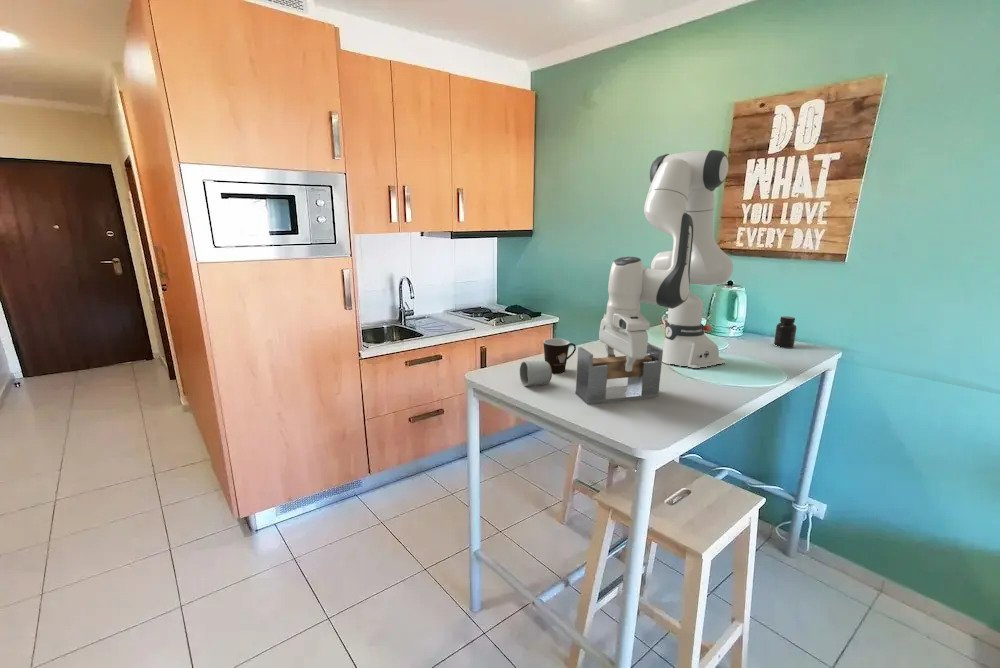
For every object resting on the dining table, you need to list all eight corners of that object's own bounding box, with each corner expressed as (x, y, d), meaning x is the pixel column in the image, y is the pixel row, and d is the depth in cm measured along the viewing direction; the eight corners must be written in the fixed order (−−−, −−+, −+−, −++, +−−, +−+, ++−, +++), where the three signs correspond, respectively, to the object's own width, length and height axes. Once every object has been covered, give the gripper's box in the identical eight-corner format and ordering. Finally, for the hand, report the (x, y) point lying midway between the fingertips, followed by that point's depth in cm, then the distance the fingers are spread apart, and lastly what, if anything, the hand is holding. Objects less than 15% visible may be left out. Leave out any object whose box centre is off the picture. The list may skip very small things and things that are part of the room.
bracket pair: (643, 387, 130) (647, 342, 126) (658, 397, 122) (663, 350, 119) (575, 393, 125) (577, 347, 121) (587, 404, 117) (590, 355, 114)
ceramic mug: (553, 386, 130) (553, 362, 128) (528, 390, 127) (528, 365, 126) (538, 376, 140) (538, 353, 138) (514, 378, 137) (515, 355, 135)
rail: (642, 370, 126) (644, 354, 125) (650, 375, 122) (651, 358, 121) (585, 375, 122) (586, 358, 121) (592, 380, 118) (593, 363, 117)
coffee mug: (544, 375, 140) (545, 345, 138) (540, 366, 148) (541, 338, 146) (579, 374, 140) (581, 345, 138) (574, 366, 149) (575, 338, 146)
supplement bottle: (787, 344, 178) (792, 315, 175) (796, 348, 171) (802, 319, 168) (770, 343, 179) (774, 315, 176) (778, 348, 172) (783, 319, 169)
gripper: (595, 310, 127) (592, 355, 130) (631, 326, 108) (627, 378, 111) (614, 309, 128) (611, 354, 132) (653, 324, 109) (649, 376, 113)
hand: (619, 365), depth 121 cm, fingers open, 8 cm apart
